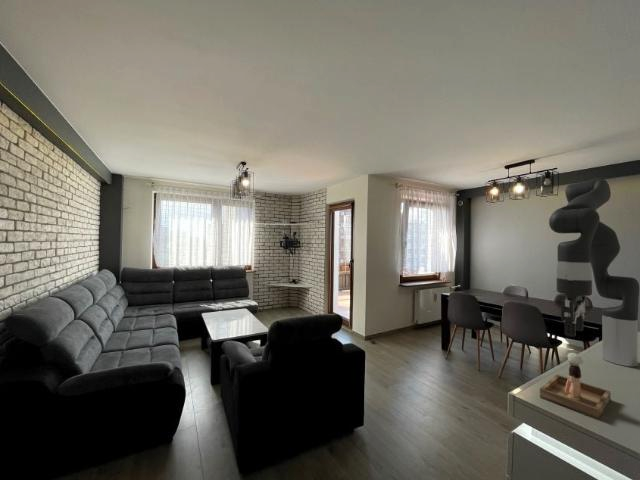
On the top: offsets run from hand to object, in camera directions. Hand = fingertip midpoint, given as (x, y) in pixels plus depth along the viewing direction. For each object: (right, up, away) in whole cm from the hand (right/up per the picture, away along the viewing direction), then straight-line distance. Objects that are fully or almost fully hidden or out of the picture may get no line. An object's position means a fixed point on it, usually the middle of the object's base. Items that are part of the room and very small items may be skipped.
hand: (574, 333), depth 77 cm
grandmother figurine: (0, -19, 0) cm, 19 cm away
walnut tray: (+1, -19, 0) cm, 19 cm away
